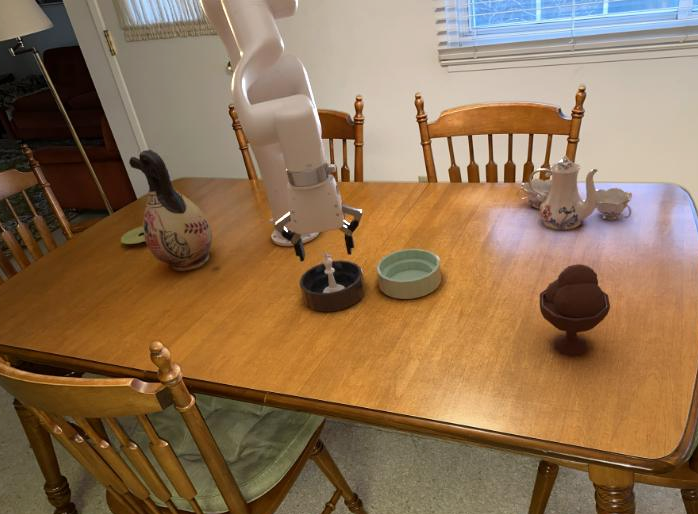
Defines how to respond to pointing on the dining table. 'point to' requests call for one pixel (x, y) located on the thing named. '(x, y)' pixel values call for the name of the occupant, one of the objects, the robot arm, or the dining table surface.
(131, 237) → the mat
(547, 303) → the ice cream bowl
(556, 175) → the chinaware
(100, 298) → the dining table surface
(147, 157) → the ceramic jug
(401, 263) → the green bowl
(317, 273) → the dark bowl
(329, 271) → the chess piece
